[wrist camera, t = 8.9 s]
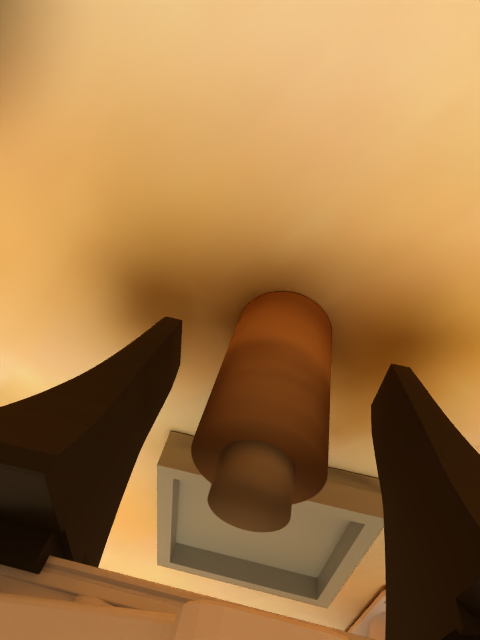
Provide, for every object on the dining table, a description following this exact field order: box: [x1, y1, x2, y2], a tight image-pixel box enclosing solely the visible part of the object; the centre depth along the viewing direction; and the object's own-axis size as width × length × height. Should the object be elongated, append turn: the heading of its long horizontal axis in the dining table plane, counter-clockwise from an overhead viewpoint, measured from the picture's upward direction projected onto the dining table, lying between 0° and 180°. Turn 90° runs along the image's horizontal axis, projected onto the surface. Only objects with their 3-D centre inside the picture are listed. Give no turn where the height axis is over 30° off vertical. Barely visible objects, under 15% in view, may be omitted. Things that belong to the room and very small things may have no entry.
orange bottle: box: [191, 291, 332, 533], centre depth 12 cm, size 4×4×7 cm
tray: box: [157, 431, 384, 608], centre depth 22 cm, size 11×11×2 cm
